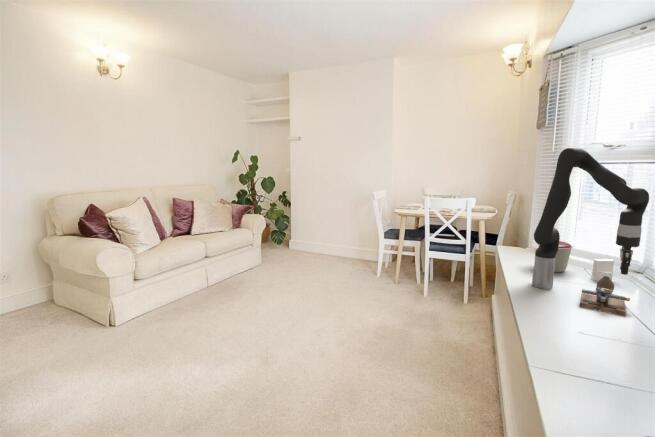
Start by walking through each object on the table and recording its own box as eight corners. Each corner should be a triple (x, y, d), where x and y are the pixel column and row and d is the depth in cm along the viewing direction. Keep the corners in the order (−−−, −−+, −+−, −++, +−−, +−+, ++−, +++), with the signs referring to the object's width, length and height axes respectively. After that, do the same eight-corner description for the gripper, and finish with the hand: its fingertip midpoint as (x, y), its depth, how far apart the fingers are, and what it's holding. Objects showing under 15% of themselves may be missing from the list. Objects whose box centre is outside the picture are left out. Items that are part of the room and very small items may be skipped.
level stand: (579, 306, 151) (580, 301, 151) (581, 296, 162) (581, 291, 161) (625, 315, 141) (626, 310, 141) (623, 304, 151) (624, 299, 151)
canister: (568, 268, 205) (572, 235, 201) (571, 276, 190) (575, 242, 186) (535, 264, 214) (537, 233, 211) (535, 271, 199) (538, 239, 196)
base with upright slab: (604, 277, 187) (606, 257, 185) (616, 282, 178) (618, 262, 176) (587, 277, 188) (589, 257, 186) (598, 282, 179) (601, 262, 177)
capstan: (580, 302, 150) (581, 290, 149) (582, 292, 162) (583, 280, 161) (630, 312, 139) (632, 299, 138) (628, 300, 151) (630, 288, 150)
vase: (616, 295, 162) (618, 279, 160) (601, 295, 163) (602, 278, 162) (607, 290, 168) (609, 274, 167) (592, 290, 170) (594, 274, 168)
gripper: (616, 230, 145) (612, 266, 148) (617, 236, 134) (612, 275, 137) (639, 232, 140) (634, 269, 143) (642, 239, 129) (636, 278, 132)
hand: (623, 272), depth 140 cm, fingers open, 5 cm apart
